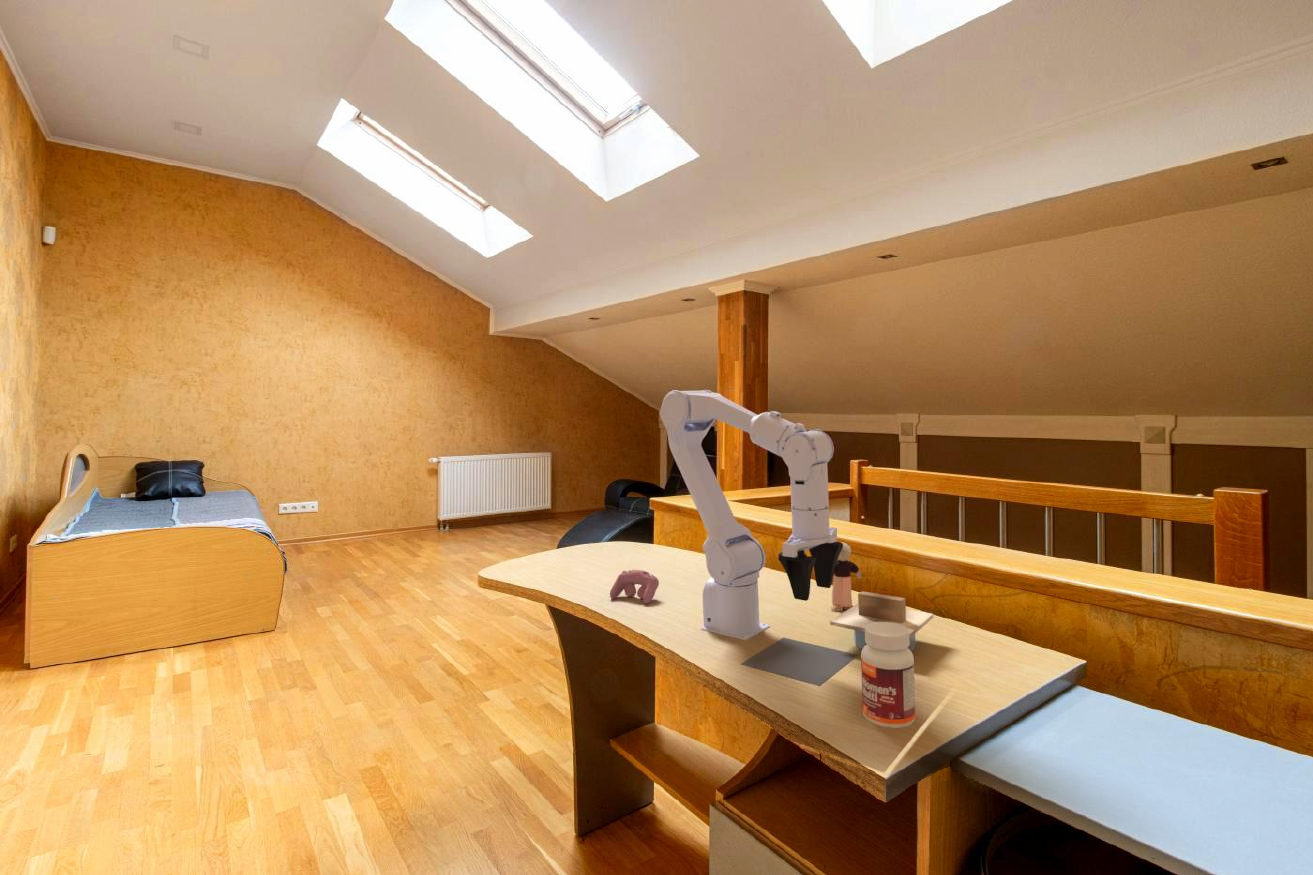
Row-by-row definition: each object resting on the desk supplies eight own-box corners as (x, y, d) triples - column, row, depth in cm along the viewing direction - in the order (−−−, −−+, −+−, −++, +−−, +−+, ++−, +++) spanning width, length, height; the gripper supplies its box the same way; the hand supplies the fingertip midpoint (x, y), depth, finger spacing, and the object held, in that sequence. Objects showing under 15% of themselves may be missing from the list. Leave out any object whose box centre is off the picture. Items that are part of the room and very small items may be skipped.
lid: (830, 624, 99) (829, 599, 99) (861, 604, 108) (860, 581, 108) (906, 640, 92) (906, 613, 91) (933, 617, 101) (932, 592, 100)
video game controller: (657, 607, 130) (663, 574, 132) (646, 603, 126) (653, 569, 128) (618, 602, 135) (625, 569, 137) (606, 597, 131) (613, 564, 134)
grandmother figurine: (834, 614, 116) (832, 546, 115) (821, 608, 119) (819, 542, 119) (867, 607, 119) (865, 541, 118) (853, 602, 122) (851, 538, 122)
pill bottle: (854, 721, 77) (851, 631, 77) (873, 701, 82) (871, 616, 81) (905, 736, 73) (903, 641, 73) (922, 715, 78) (920, 625, 77)
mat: (740, 666, 95) (740, 663, 95) (783, 639, 105) (783, 637, 105) (819, 688, 86) (819, 685, 86) (858, 657, 96) (858, 654, 96)
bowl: (845, 649, 100) (844, 624, 99) (868, 632, 106) (867, 608, 106) (902, 662, 94) (901, 635, 93) (922, 643, 100) (922, 618, 100)
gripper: (811, 516, 90) (815, 609, 91) (853, 502, 101) (856, 585, 102) (769, 513, 95) (772, 601, 95) (813, 499, 106) (816, 579, 106)
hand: (812, 592), depth 99 cm, fingers open, 7 cm apart
